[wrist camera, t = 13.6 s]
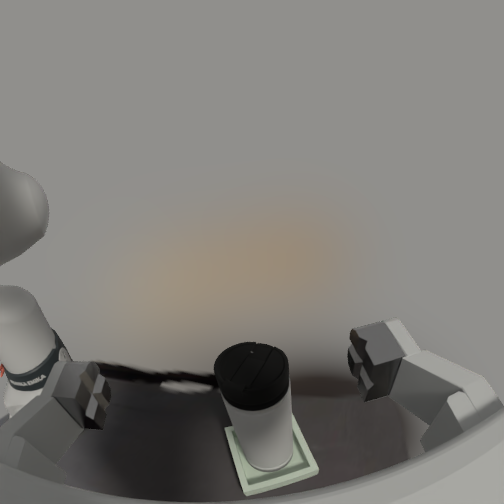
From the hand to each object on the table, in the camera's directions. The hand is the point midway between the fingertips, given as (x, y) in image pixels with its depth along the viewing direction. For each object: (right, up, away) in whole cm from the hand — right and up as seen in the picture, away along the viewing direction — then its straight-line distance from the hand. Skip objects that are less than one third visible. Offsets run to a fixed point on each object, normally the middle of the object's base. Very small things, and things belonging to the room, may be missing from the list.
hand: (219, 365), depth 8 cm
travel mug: (+3, -23, +24) cm, 33 cm away
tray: (+3, -23, +24) cm, 34 cm away
